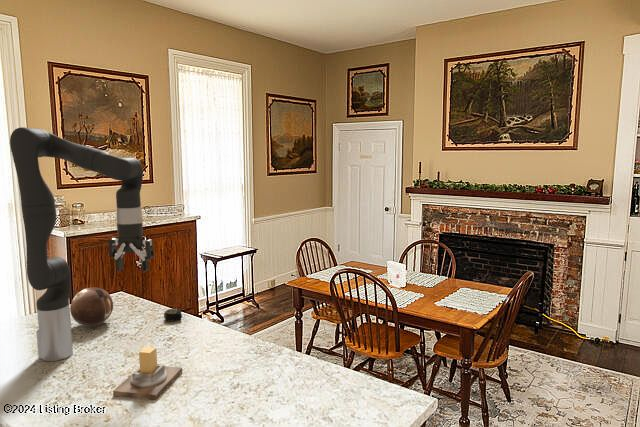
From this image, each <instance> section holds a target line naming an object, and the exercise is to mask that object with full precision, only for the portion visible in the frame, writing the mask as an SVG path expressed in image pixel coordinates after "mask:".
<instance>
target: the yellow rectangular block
mask: <svg viewBox="0 0 640 427" xmlns="http://www.w3.org/2000/svg"><path fill="white" fill-rule="evenodd" d="M157 356H158V354H157V347H152V346H145V347H143V348H142V349H141V350H140V351H139V352H138V357H139V358H138V359H139V367H140V373H148V374H153V373H154V372H155V371H156V370H157V364H158V357H157Z"/></svg>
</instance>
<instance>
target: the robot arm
mask: <svg viewBox="0 0 640 427" xmlns="http://www.w3.org/2000/svg"><path fill="white" fill-rule="evenodd" d="M9 146H10V152H11V155H12V160H13V164H14V167H15V168H14V169H15V171H16V177H17V181H18V182H17V183H18V189H19V195H20V205H21V215H22V220H23V225H24V233H25V236H24V237H25V243H26V244H25V245H26V246H25V248H26V249H25V250H26V277H27V279H28V280H27V281H28V282H29V285H30V286H31V287H32V288H33V289H34V290H35V291H44V290H45V292H44V293H43V294H42V295H41V296H40V297H39V298H38V299H37V300H36V312H37V313H36V315H37V322H38V329H37V330H36V333H35V334H36V345H37V352H38V353H37V355H38V359H40V360H42V361H44V362H58V361H62V360H64V359H66V358H68V357H70V356H72V355H73V354H74V350H73V349H74V348H73V347H74V346H73V336H72V325H71V324H72V323H71V311H70V297H71V294H72V293H71V271H70V267H69V263H68V261H66V259H64V258H63V257H60V256H55V257H50V258H48V256H47V255H48V254H47V251H48V250H47V249H48V248H47V247H48V242H49V240H50V238H51V235H52V232H53V230H54V228H55V225H56V222H57V218H58V217H57V216H58V215H57V208H56V207H57V205H56V201H55V197H54V194H53V193H52V191H51V189H50V187H49V185H48V184H47V183H46V181H45V179H44V178H43V176H42V173H41V171H40V164H39V158H43V157H44V158H54V159H60V160H64V161H67V162H69V163H71V164H72V165H73V166H74V165H75V166H77V167H79V168H82V169H84V170H88V171H91V172H95V173H99V174H102V175H103V176H106V177H108V178H110V179H112V180H115V181H118V182H119V181H120V182H121V186H120V188H118V189H117V190H116V192H115V200H116V213H115V214H116V233H117V237H118V238H116V237H112V238H110V239H109V240H108V257H109V258H113V259H114V261H115V269H116V270H117V272H121V271H123V270H124V262H123V257H124V255H125V254H129V253H130V254H136V256H138V257H139V258H140V259H141V273H146V272H148V270H149V269H150V268H149V267H150V266H149V265H150V264H149V260H151V259H152V258H153V259H154V257H155V250H154V243H153V242H154V241H153V239H151V238H150V239H144V237H143V235H144V231H143V230H144V226H143V225H144V224H143V212H142V206H141V205H142V204H141V190H142V186H143V177H144V168H143V165H142V163H141V161H140V160H139V159H138V158H135V157H119V156H115V155H112V154H111V153H109V152H107V151H105V150H102V149H98V148H94V147H92V146H91V147H90V146H87V145H82V144H80V143H75V142H72V141H70V140H67V139H64V138H62V137H60V136H57V135H55V134H53V133H52V132H48V131H47V130H46V129H43V128H39V127H37V128H36V127H18V128H15V129H14V130H13V131H12V132H11V135H10V137H9ZM118 246H119V248H118ZM144 247H145V248H144Z"/></svg>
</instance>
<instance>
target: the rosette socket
mask: <svg viewBox="0 0 640 427" xmlns="http://www.w3.org/2000/svg"><path fill="white" fill-rule="evenodd" d="M182 373H183V367H181V366H180V367H178V366H166V365H165V364H158V363H157V370H156V371H155V372H154V373H153V374H148V373H140V366H139V367H138V368H137V369H136V370H135V371H134V372H133V373H132V374H130V375H129V376H128V377H127V378H126V379H125V380H124V381H123V382H121V384H119V385H118V386H117V387H115V388H114V389H113V391H112V395H113V397H121V398H123V397H124V398H133V399H140V400H141V399H144V400H151V401H152V400H153V401H154V400H155V401H156V400H158V399H159V397H161V396H162V394H164V392H165V391H166V390H167V389H168V388H169V387H170V386H171V385H172V384H173V383H174V382H175V381H176V379H178V378H179V376H180V375H181V374H182ZM172 382H173V383H172Z"/></svg>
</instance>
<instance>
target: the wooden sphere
mask: <svg viewBox="0 0 640 427" xmlns="http://www.w3.org/2000/svg"><path fill="white" fill-rule="evenodd" d="M69 310H70V316H71V317H72V318H73V321H75V322H76V323H77V324H79V325H81V326H82V327H88V328H89V327H97V326H100V325H102V324H103V323H104V322H106V321H107V320H108V319H109V318H110V316H111V315H112V312H113V310H114V301H113V298H112V296H111V295H110V294H109V292H108V291H106V290H105V289H103V288H100V287H96V286H95V287H93V286H91V287H87V288H84V289H81V291H79V292H77V293H76V294H75V296H74V297H73V299H72V300H71V303H70V305H69Z"/></svg>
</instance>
